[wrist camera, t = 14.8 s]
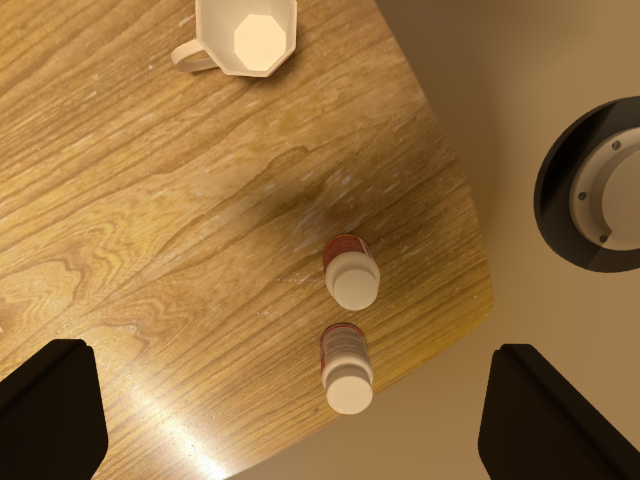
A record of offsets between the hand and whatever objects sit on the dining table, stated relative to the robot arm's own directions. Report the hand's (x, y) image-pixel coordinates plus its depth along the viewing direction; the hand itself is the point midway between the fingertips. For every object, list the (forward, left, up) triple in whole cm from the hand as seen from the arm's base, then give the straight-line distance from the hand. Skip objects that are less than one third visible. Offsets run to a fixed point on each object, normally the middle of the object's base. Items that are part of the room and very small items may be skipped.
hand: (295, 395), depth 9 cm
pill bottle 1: (+4, +6, -28) cm, 29 cm away
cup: (-9, -10, -28) cm, 31 cm away
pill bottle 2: (+13, +10, -28) cm, 33 cm away
